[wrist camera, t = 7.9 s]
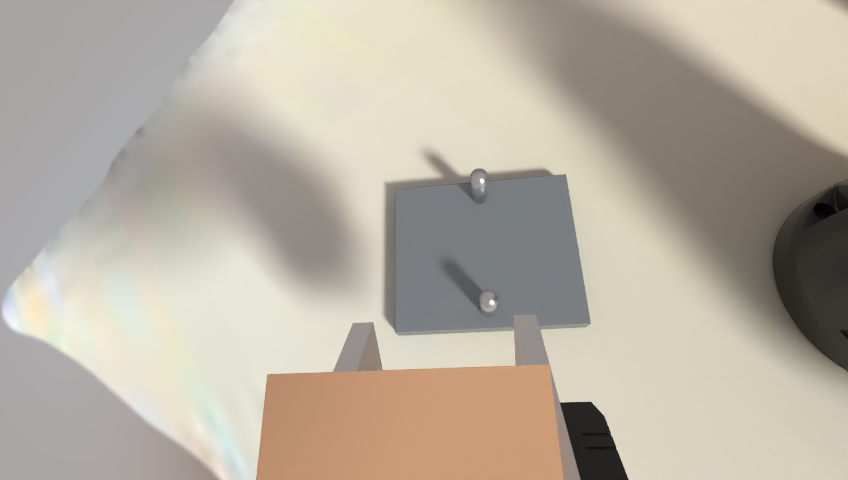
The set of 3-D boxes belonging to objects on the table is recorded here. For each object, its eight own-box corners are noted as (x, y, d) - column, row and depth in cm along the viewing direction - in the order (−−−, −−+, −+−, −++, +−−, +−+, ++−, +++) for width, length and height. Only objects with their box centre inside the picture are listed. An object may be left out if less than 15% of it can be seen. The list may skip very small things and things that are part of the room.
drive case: (513, 387, 18) (549, 364, 7) (526, 524, 16) (601, 782, 5) (399, 391, 19) (267, 374, 8) (399, 523, 17) (227, 750, 6)
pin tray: (562, 183, 36) (574, 150, 31) (586, 327, 31) (603, 313, 26) (398, 197, 37) (386, 167, 33) (399, 335, 33) (384, 324, 28)
